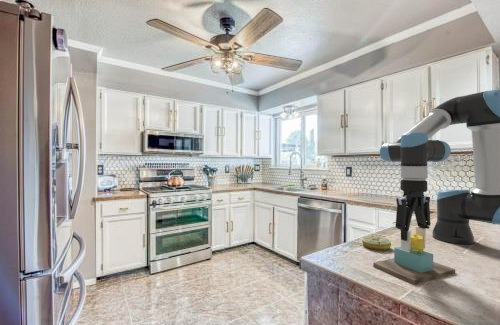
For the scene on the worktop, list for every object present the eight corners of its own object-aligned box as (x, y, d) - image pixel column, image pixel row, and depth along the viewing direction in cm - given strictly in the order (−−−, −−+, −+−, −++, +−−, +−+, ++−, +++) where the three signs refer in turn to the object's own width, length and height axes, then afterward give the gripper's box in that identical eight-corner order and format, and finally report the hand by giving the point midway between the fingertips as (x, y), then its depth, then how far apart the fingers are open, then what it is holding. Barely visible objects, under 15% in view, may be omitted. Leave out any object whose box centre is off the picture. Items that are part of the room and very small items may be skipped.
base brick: (406, 259, 89) (406, 245, 89) (433, 269, 81) (433, 254, 81) (394, 262, 86) (394, 247, 86) (420, 272, 78) (421, 256, 78)
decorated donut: (372, 241, 113) (372, 233, 113) (396, 248, 104) (396, 239, 104) (357, 245, 108) (357, 236, 108) (381, 253, 99) (381, 243, 99)
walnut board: (412, 257, 94) (412, 254, 94) (455, 273, 81) (455, 269, 81) (373, 266, 86) (373, 262, 86) (414, 284, 73) (414, 280, 73)
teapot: (402, 244, 88) (402, 229, 88) (422, 247, 85) (422, 232, 85) (402, 251, 81) (403, 235, 81) (424, 254, 78) (424, 238, 78)
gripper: (421, 178, 91) (420, 241, 91) (382, 179, 83) (382, 248, 83) (444, 179, 84) (443, 248, 84) (404, 180, 76) (404, 256, 76)
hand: (413, 248), depth 84 cm, fingers closed on teapot, 7 cm apart
